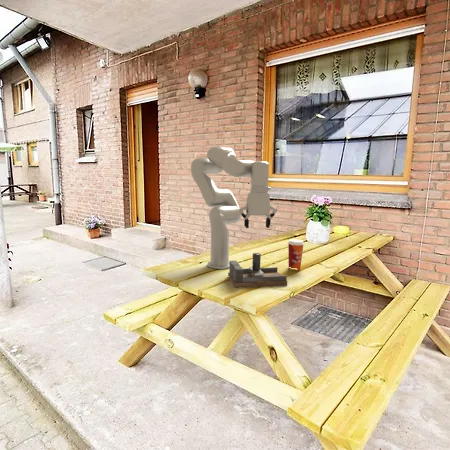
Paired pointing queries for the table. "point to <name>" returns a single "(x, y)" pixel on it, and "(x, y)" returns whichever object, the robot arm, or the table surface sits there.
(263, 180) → the robot arm
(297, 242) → the coffee cup
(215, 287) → the table surface
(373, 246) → the table surface
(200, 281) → the table surface
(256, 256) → the press carriage
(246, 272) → the base
